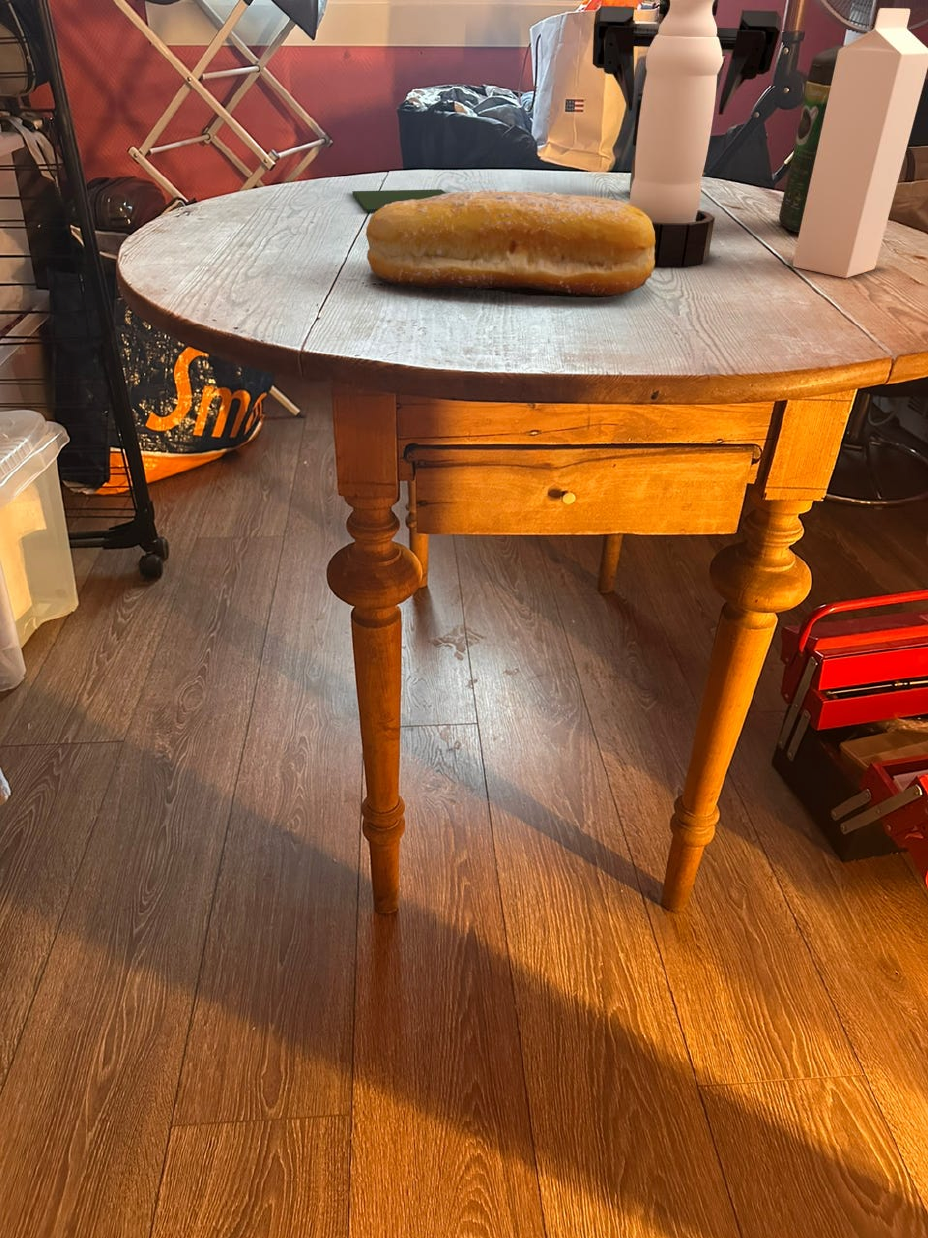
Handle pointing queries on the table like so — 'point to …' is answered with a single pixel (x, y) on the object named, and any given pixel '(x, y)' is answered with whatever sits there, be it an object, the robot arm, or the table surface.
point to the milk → (862, 147)
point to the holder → (683, 241)
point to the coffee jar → (808, 138)
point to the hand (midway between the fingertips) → (675, 109)
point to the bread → (513, 243)
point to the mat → (390, 197)
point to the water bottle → (677, 113)
